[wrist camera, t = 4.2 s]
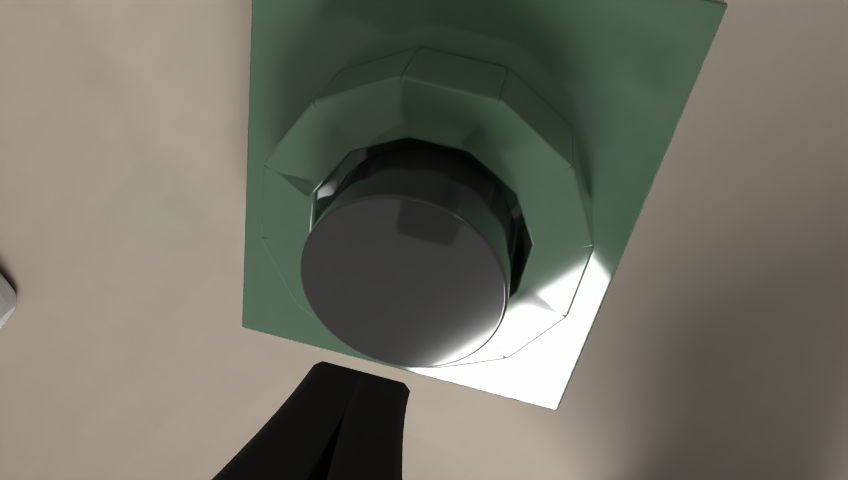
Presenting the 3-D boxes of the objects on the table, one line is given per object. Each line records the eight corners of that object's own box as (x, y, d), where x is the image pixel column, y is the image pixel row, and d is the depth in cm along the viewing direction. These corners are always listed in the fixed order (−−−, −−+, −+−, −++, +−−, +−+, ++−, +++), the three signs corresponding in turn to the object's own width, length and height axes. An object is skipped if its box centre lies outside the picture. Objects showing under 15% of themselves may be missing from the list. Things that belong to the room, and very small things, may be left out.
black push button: (491, 325, 15) (481, 390, 14) (323, 282, 16) (292, 340, 14) (538, 173, 13) (533, 227, 11) (341, 124, 13) (307, 171, 12)
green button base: (559, 335, 21) (555, 465, 17) (282, 263, 22) (212, 372, 17) (701, -32, 15) (750, 31, 11) (309, -120, 15) (211, -92, 11)
